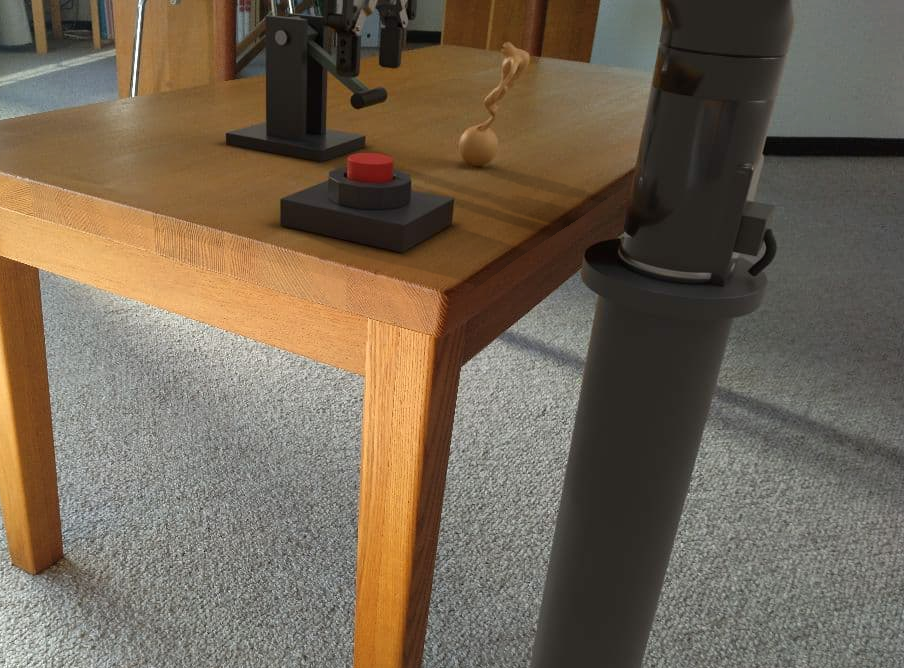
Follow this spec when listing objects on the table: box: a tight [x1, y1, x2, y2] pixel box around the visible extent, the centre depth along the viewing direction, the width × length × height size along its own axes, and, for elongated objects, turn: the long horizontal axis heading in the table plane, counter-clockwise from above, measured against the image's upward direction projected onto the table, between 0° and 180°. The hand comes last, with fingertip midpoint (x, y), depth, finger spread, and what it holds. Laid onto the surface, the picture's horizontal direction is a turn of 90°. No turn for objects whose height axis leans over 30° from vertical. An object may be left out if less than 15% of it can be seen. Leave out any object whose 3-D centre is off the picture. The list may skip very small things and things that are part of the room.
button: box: [346, 152, 395, 183], centre depth 70 cm, size 4×4×2 cm
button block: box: [279, 166, 455, 254], centre depth 71 cm, size 11×9×4 cm
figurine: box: [458, 41, 531, 167], centre depth 89 cm, size 8×6×12 cm
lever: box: [290, 16, 388, 110], centre depth 90 cm, size 12×5×2 cm, turn 60°
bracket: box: [225, 12, 366, 163], centre depth 93 cm, size 12×9×13 cm
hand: (369, 71), depth 89 cm, fingers open, 8 cm apart
